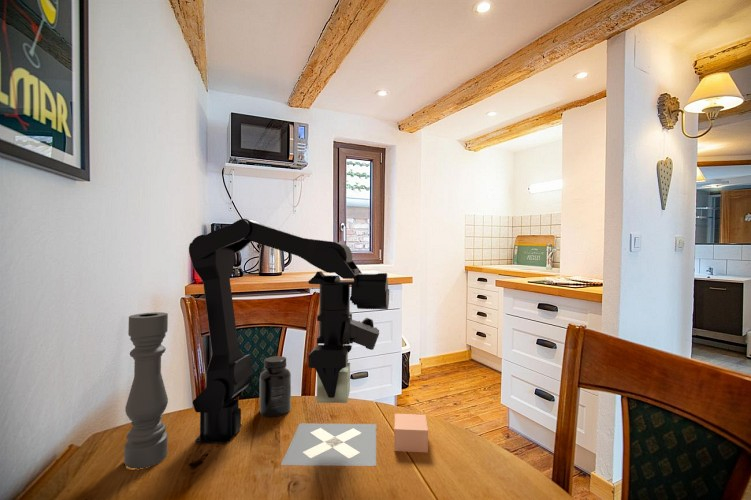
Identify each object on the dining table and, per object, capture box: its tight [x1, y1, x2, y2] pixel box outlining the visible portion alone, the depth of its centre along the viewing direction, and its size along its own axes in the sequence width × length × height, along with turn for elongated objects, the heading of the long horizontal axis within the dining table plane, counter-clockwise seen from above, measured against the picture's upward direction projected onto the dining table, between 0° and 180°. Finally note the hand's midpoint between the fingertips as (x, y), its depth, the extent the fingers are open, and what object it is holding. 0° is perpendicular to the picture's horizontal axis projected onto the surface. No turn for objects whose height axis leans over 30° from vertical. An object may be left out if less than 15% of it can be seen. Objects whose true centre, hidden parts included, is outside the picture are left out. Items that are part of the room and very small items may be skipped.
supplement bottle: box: [259, 355, 292, 418], centre depth 76 cm, size 7×7×12 cm
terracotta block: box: [393, 413, 429, 454], centre depth 63 cm, size 6×6×4 cm
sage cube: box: [316, 362, 351, 404], centre depth 64 cm, size 6×6×6 cm
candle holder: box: [123, 312, 169, 469], centre depth 59 cm, size 6×6×25 cm
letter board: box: [280, 422, 377, 467], centre depth 63 cm, size 16×14×1 cm
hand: (333, 390), depth 63 cm, fingers closed on sage cube, 5 cm apart
